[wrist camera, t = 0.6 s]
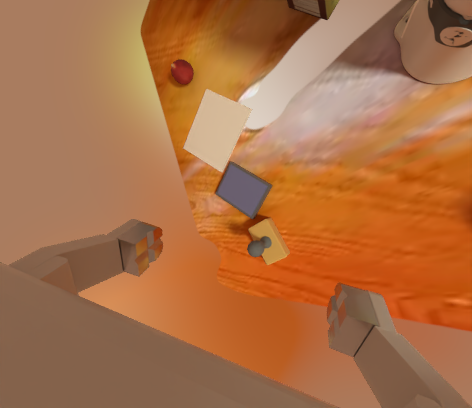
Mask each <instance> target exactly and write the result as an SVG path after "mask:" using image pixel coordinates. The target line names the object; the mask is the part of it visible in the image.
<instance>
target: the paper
mask: <svg viewBox="0 0 472 408" xmlns="http://www.w3.org/2000/svg"><path fill="white" fill-rule="evenodd" d="M251 111H252V109H250V108H248V107H246V106H244V105H241V104H239V103H237V102H235V101H232V100H230V99H228V98H226V97H223V96H221V95H219V94H217V93H214V92H212V91H210V90H208V89H206V91H205V94H204V96H203V99H202V102H201V104H200V107H199V109H198V112H197V114H196V117H195V119H194V122H193V124H192V127H191V129H190V132H189V134H188V137H187V140H186V142H185V145H184V147H183V148H184V149H185V150H187V151H188V152H190V153H192V154H193V155H195V156H196V157H198V158H200V159H201V160H203V161H204V162H206V163H208V164H209V165H211V166H212V167H214V168H216V169H217V170H219V171H220V172H222V173H223V171H224V168H225V166H226V164H227V162H228V160H229V158H230V156H231V153H232V151H233V149H234V147H235V145H236V143H237V141H238V139H239V136H240V134H241V132H242V130H243V128H244V126H245V124H246V121H247V119H248V117H249V115H250V113H251Z"/></svg>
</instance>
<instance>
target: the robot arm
mask: <svg viewBox="0 0 472 408" xmlns="http://www.w3.org/2000/svg"><path fill="white" fill-rule="evenodd" d="M406 21H407V23H406ZM394 35H395V37H396V39H397V41H398V42H399V44H400V48H401V60H402V63H403V66H404V68H405V69H406V71H407V72H408V73H409V74H410V75H411V76H413V77H414V78H416V79H418V80H420V81H423V82H426V83H432V84H445V83H452V82H457V81H460V80H464V79H466V78H469V77H471V76H472V0H416V2H415V3H414V4H413V5H412V6H411V8H410V9H409V10H408V11H407V13H406V14H405V15H404V16H403V17H402V19H401V20H400V21H399V22H398V24H397V25H396V27H395V29H394ZM161 236H162V229H161V228H159V227H157V226H154V225H151V224H148V223H145V222H141V221H138V220H135V219H132V220H130V221H128V222H126V223H125V224H123V225H122V226H120V227H119V228H117V229H115V230H113V231H112V232H110V233H109V234H107V235H104V234H103V235H98V236H93V237H89V238H84V239H80V240H75V241H71V242H66V243H62V244H57V245H52V246H48V247H44V248H40V249H38V250H37V251H35V252H33V253H31V254H29V255H27V256H25V257H23V258H21V259H19V260H17V261H15V262H14V263H12V264H10V265H5V264H3V263H1V262H0V408H339V407H336V406H334V405H332V404H329V403H327V402H325V401H322V400H320V399H318V398H315V397H313V396H311V395H308V394H306V393H304V392H302V391H299V390H297V389H294V388H292V387H290V386H288V385H285V384H283V383H280V382H278V381H276V380H273V379H271V378H269V377H266V376H264V375H262V374H259V373H257V372H255V371H252V370H250V369H248V368H245V367H243V366H241V365H238V364H236V363H233V362H231V361H229V360H227V359H224V358H222V357H220V356H217V355H214V354H213V353H210V352H208V351H205V350H203V349H201V348H198V347H196V346H194V345H192V344H189V343H187V342H185V341H182V340H180V339H178V338H175V337H173V336H171V335H168V334H166V333H164V332H161V331H159V330H156V329H154V328H152V327H150V326H147V325H145V324H143V323H140V322H138V321H136V320H134V319H131V318H129V317H127V316H124V315H122V314H119V313H117V312H115V311H112V310H110V309H108V308H105V307H103V306H101V305H98V304H96V303H94V302H92V301H89V300H87V299H85V298H82V297H80V296H79V295H78V292H80V291H82V290H85V289H87V288H89V287H91V286H94V285H96V284H98V283H100V282H103V281H105V280H107V279H109V278H111V277H114V276H116V275H118V274H120V273H122V272H123V271H124V272H127V273H130V274H133V275H136V276H140V275H141V274H142V273H143V272H144V271H145V270H146V269H147V268H148V267H149V263H150V262H153V261H155V260H156V259H157V258H158V257H159V256H160V254H161V252H162V249H163V242H162V241H161V239H160V237H161ZM327 321H328V323H329V324H330V328H329V330H328V337H329V347H330V348H331V349H334V350H336V351H339V352H341V353H344V354H347V355H349V356H351V357H354V361H355V362H356V364H357V366H358V367H359V369H360V371H361V373H362V374H363V376H364V378H365V379H366V381H367V383H368V385H369V386H370V388H371V390H372V391H373V393H374V395H375V396H376V398H377V400H378V402H379V403H380V405H381V407H382V408H472V407H471V406H470V405H469V404H468V403H467V402H466V401H465V400H464V399H463V398H462V396H461V395H460V394H459V393H458V392H457V391H456V390H455V389H454V388H453V387H452V386H451V385H450V384H449V383H448V382H447V381H446V380H445V379H444V378H443V377H442V376H441V375H440V374H439V373H438V372H437V371H436V370H435V369H434V368H433V367H432V366H431V364H430V363H429V362H427V361H426V359H425V358H424V357H423V356H422V355H421V354H420V353H419V352H418V351H417V350H416V349H415V348H414V347H413V346H412V345H411V344H410V343H409V342H408V341H407V340H406V339H405V338H404V337H403V336H402V335H401V334H398V333H397V332H396V330H395V327H394V324H393V322H392V319H391V316H390V314H389V311H388V309H387V306H386V303H385V301H384V298H383V296H382V295H381V294H378V293H374V292H371V291H367V290H363V289H359V288H356V287H353V286H349V285H346V284H343V283H338V284H337V285H336V287H335V295H334V296H332V297H331V298H330V301H329V303H328V308H327Z"/></svg>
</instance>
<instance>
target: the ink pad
mask: <svg viewBox="0 0 472 408" xmlns="http://www.w3.org/2000/svg"><path fill="white" fill-rule="evenodd" d="M272 186H273V185H271V184H270V183H268V182H266V181H265V180H263V179H261V178H259V177H258V176H256V175H254V174H253V173H251V172H249V171H247V170H246V169H244V168H242V167H241V166H239V165H237V164H235V163H234V162H230V164H229V166H228V168H227V170H226V172H225V175H224V177H223V179H222V181H221V183H220V185H219V187H218V189H217V191H216V195H218V196H219V197H221V198H222V199H223V200H225V201H226V202H228V203H229V204H231V205H232V206H234V207H235V208H237V209H238V210H239V211H241V212H242V213H244V214H245V215H247V216H248V217H250V218H251V219H254V218H255V216H256V215H257V213H258V211H259V209H260V207H261V206H262V204H263V202H264V200H265V198H266V197H267V195H268V193H269V191H270V189H271V188H272Z"/></svg>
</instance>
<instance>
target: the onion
mask: <svg viewBox="0 0 472 408" xmlns="http://www.w3.org/2000/svg"><path fill="white" fill-rule="evenodd" d="M171 72H172V76H173V77H174V79H175V80H176V81H177V82H178V83H180V84H188V83H190V82H191V80H192V79H193V74H194V73H193V68H192V66H191V65H190V64H189V63H188V62H187V61H185V60H176V61H175V62H173V64H171Z"/></svg>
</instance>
